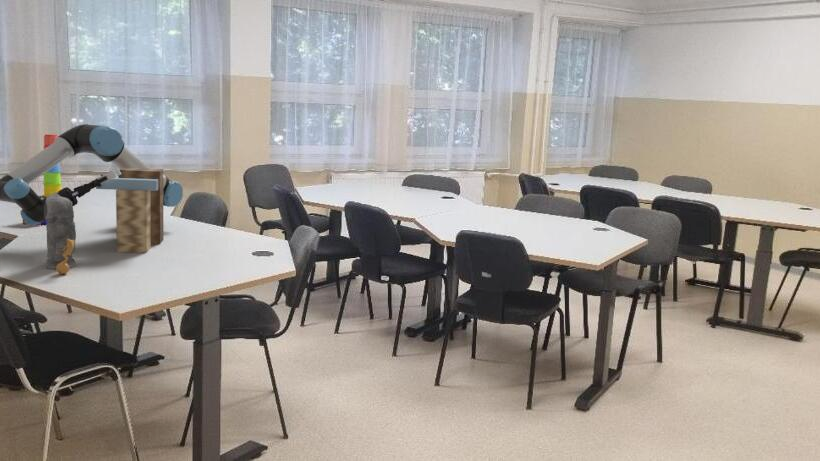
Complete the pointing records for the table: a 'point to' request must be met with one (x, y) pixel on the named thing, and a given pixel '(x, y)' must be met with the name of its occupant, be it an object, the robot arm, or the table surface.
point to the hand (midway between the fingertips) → (117, 172)
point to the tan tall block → (133, 220)
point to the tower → (151, 198)
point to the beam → (130, 184)
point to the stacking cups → (51, 171)
